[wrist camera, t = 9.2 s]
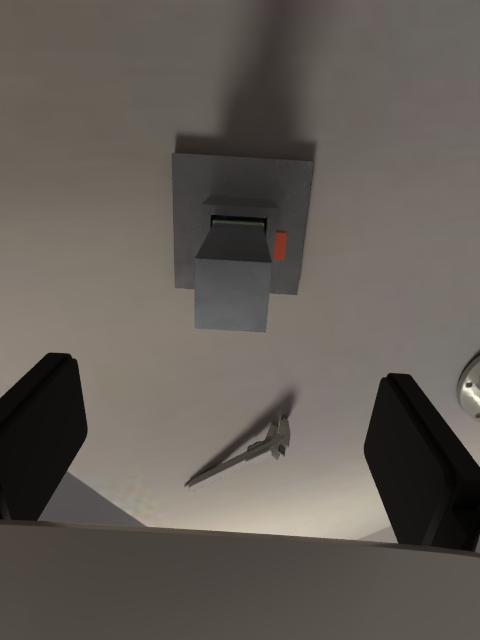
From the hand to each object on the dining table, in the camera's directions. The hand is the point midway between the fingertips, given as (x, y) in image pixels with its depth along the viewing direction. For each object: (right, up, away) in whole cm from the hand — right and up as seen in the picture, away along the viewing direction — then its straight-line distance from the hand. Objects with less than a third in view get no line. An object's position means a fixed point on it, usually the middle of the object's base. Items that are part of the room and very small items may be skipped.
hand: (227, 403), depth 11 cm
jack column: (0, +10, +21) cm, 23 cm away
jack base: (0, +13, +28) cm, 31 cm away
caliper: (-1, -17, +42) cm, 46 cm away
